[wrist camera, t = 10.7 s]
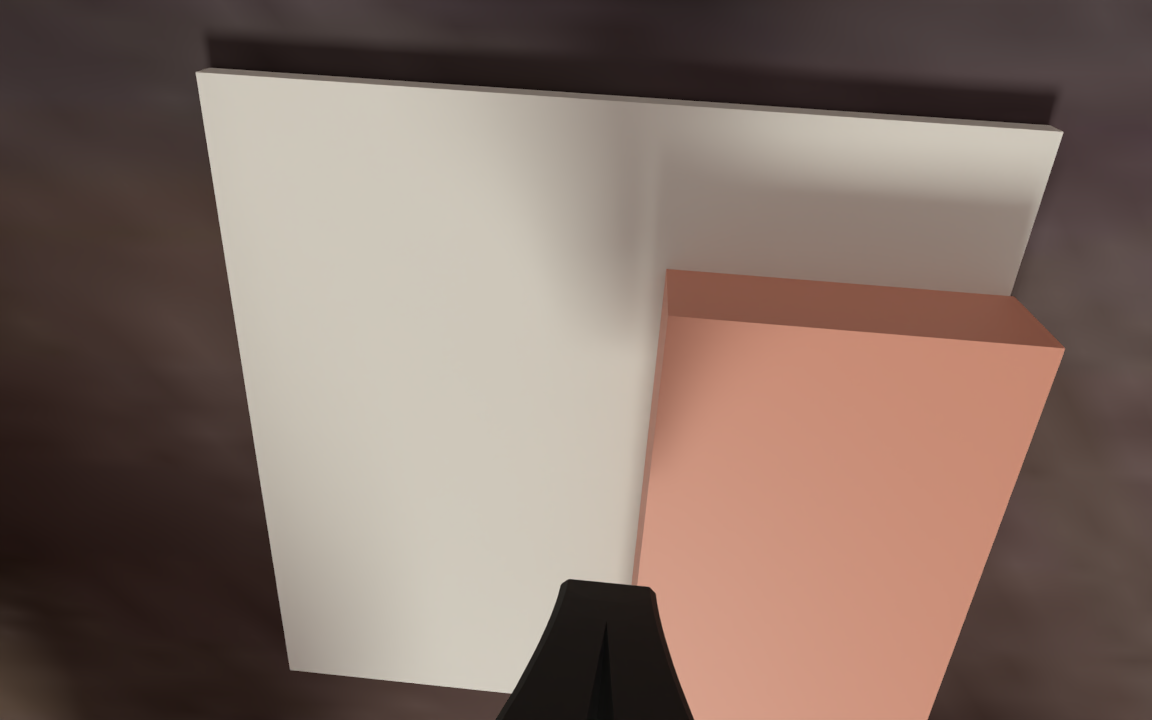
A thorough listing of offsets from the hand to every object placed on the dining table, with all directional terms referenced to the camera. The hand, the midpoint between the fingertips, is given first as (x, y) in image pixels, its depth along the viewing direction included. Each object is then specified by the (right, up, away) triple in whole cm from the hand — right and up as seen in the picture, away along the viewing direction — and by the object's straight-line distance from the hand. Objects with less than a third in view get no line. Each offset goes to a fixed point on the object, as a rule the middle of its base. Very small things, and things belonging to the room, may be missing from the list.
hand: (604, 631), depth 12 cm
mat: (0, +2, +4) cm, 5 cm away
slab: (+1, +1, +3) cm, 4 cm away
